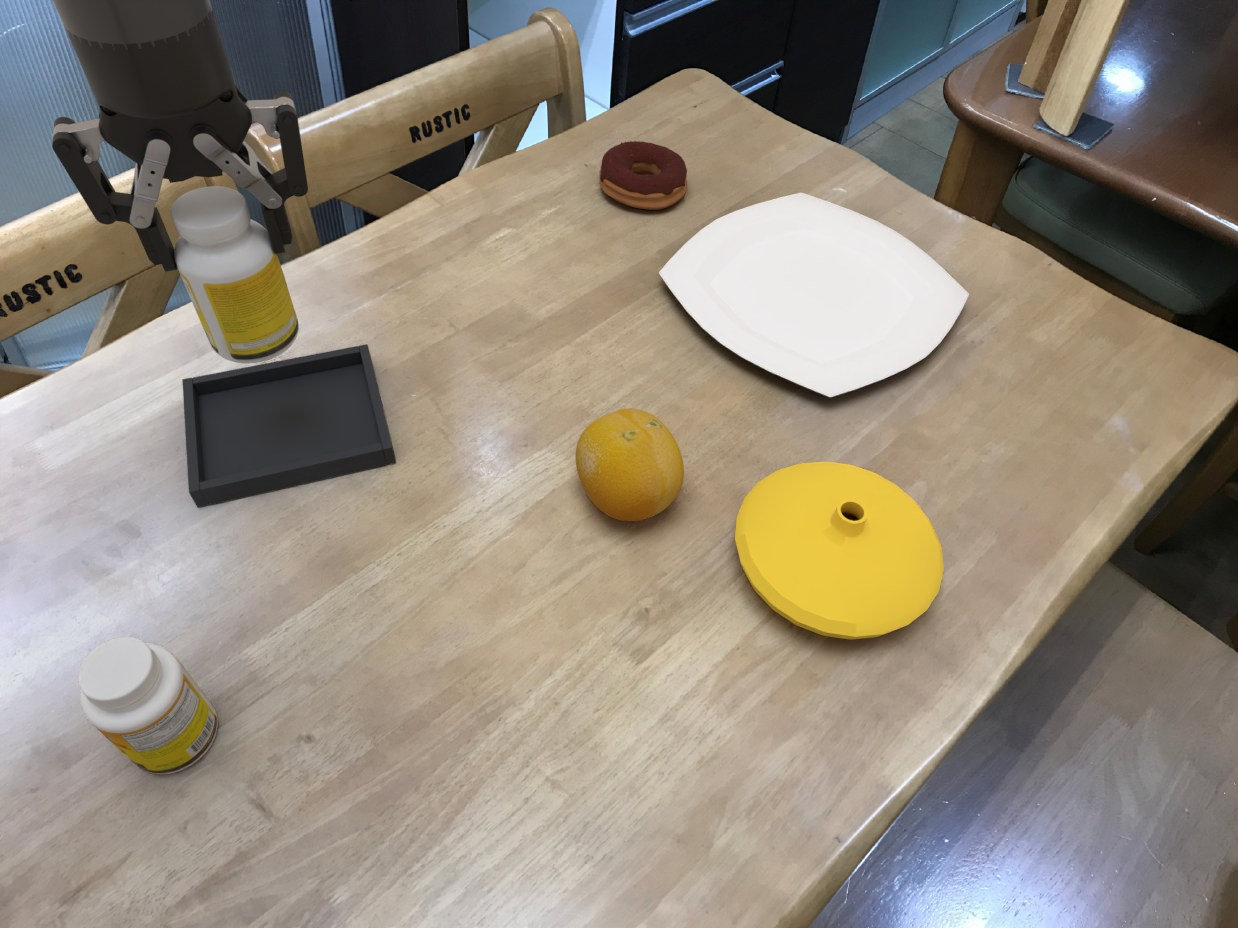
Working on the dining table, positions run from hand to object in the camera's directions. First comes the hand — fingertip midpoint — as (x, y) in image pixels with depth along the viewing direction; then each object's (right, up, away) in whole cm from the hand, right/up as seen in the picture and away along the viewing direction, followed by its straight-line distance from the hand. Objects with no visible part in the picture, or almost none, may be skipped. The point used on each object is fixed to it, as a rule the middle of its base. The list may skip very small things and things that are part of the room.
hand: (226, 254), depth 61 cm
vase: (+44, -22, +9) cm, 50 cm away
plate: (+46, +2, +29) cm, 54 cm away
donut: (+30, +16, +39) cm, 52 cm away
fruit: (+28, -17, +12) cm, 35 cm away
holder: (-1, -11, +14) cm, 18 cm away
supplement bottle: (-2, -32, -2) cm, 33 cm away
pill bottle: (0, -5, +6) cm, 8 cm away
